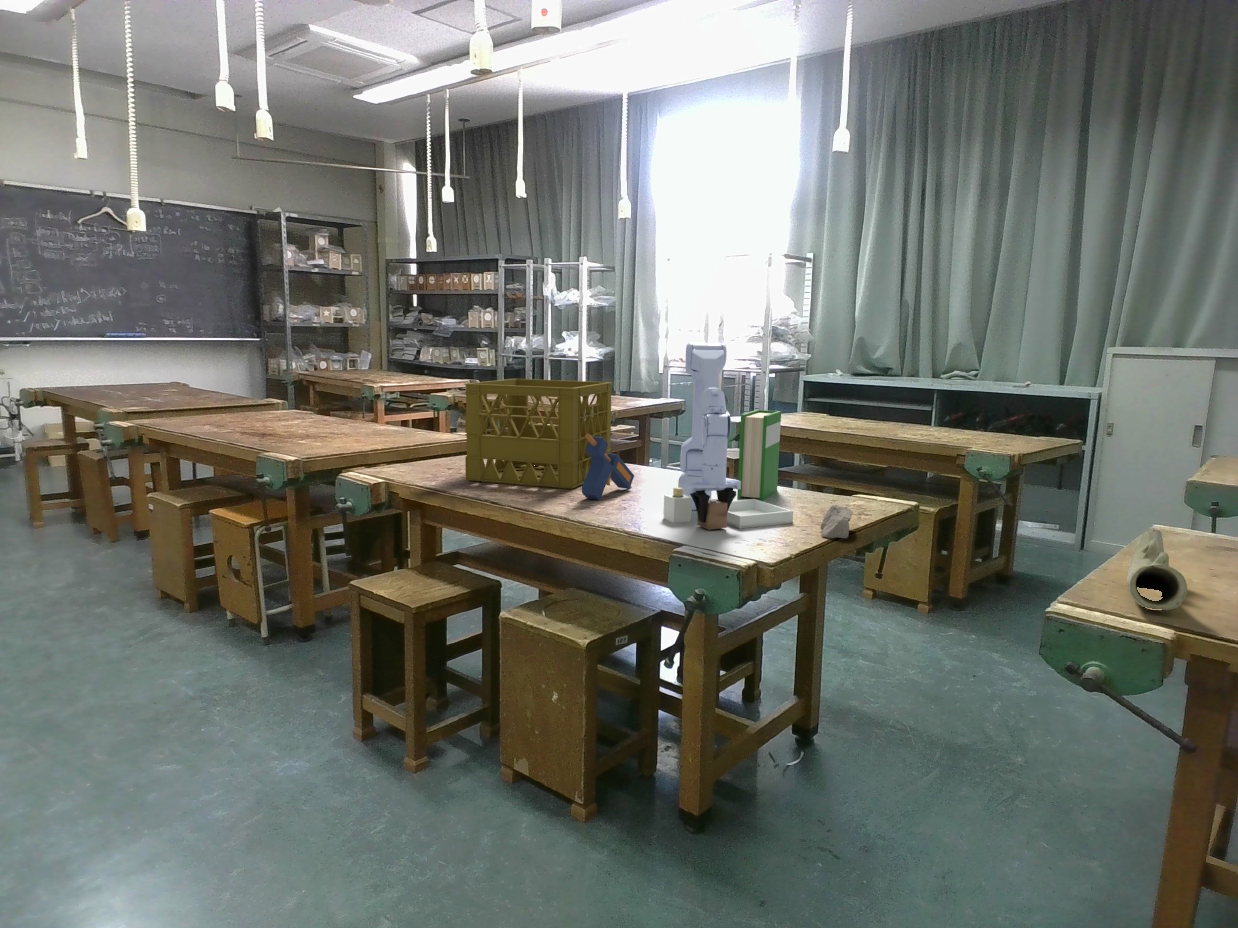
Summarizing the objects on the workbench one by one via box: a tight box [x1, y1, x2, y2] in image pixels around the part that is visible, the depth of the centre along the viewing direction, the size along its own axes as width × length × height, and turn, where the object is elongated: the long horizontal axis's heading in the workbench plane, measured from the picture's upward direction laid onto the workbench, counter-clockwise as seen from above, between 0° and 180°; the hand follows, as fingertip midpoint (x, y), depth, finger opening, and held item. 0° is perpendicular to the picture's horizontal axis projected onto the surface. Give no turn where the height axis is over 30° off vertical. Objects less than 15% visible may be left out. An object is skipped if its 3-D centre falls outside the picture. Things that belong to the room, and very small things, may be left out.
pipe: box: [1126, 529, 1188, 611], centre depth 145 cm, size 28×8×10 cm, turn 154°
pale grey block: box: [663, 486, 692, 524], centre depth 197 cm, size 5×5×8 cm
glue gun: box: [581, 433, 635, 501], centre depth 224 cm, size 6×31×15 cm
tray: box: [727, 498, 794, 530], centre depth 200 cm, size 16×16×3 cm
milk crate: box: [464, 378, 613, 490], centre depth 252 cm, size 36×36×30 cm
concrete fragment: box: [820, 504, 854, 539], centre depth 187 cm, size 7×14×6 cm, turn 158°
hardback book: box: [736, 409, 782, 502], centre depth 230 cm, size 18×7×24 cm, turn 156°
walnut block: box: [696, 498, 728, 531], centre depth 189 cm, size 5×5×6 cm
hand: (712, 520), depth 189 cm, fingers closed on walnut block, 5 cm apart
